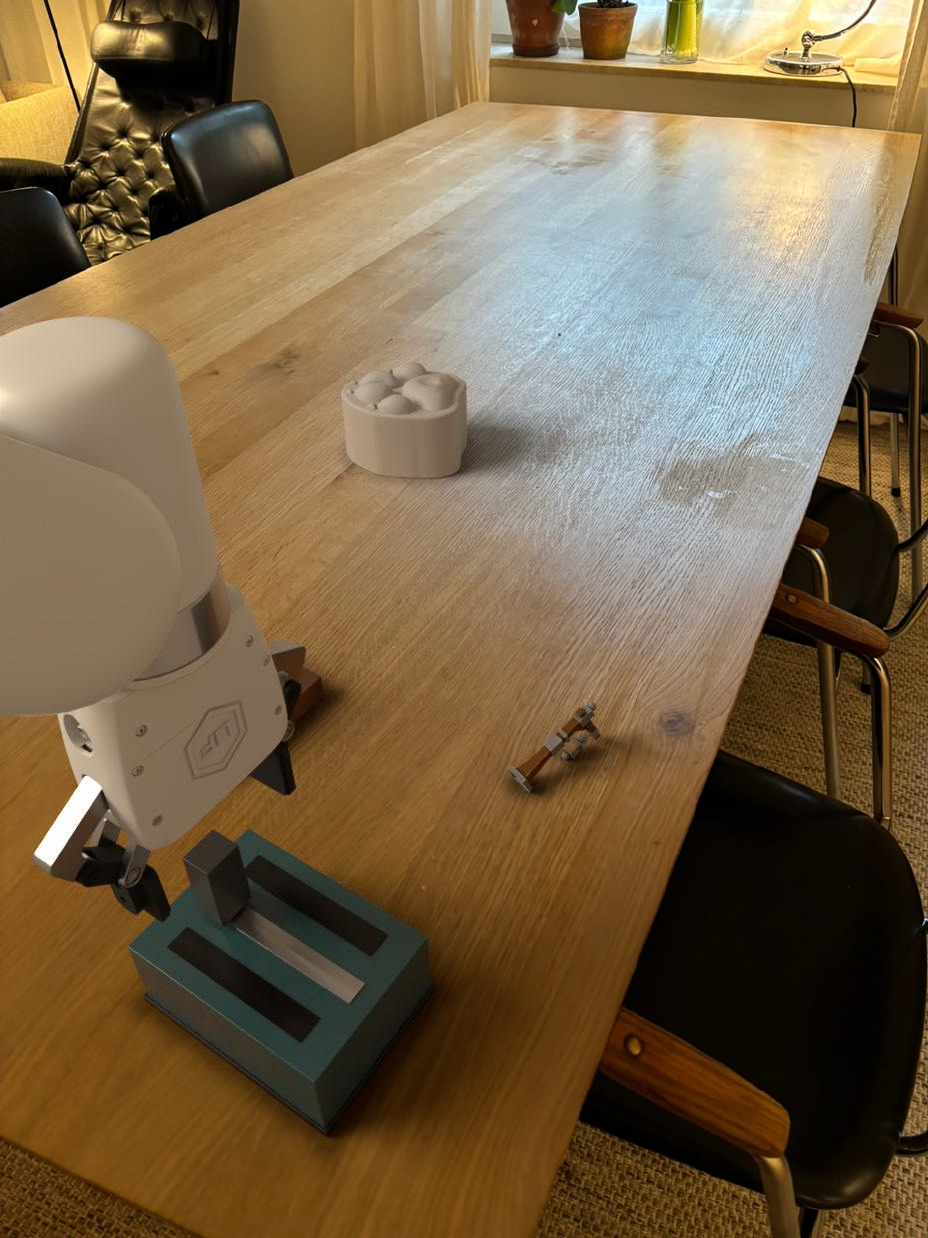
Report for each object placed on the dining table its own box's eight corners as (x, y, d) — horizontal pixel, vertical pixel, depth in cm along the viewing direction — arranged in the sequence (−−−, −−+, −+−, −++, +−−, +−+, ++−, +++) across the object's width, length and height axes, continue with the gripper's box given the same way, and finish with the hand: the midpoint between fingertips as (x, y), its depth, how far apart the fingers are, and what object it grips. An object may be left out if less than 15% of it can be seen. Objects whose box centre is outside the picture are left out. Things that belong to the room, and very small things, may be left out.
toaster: (326, 1138, 54) (314, 1088, 50) (144, 1001, 60) (120, 946, 56) (436, 990, 61) (433, 935, 57) (261, 879, 67) (247, 823, 63)
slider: (223, 927, 57) (207, 875, 54) (198, 911, 58) (181, 858, 54) (252, 897, 58) (238, 844, 55) (227, 881, 59) (212, 828, 56)
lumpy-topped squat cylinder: (455, 481, 104) (454, 407, 98) (335, 472, 106) (327, 398, 100) (471, 431, 112) (470, 360, 106) (358, 423, 113) (352, 353, 108)
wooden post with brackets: (614, 732, 75) (600, 704, 72) (539, 806, 74) (521, 782, 71) (598, 718, 77) (583, 690, 73) (524, 791, 75) (505, 766, 72)
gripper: (33, 772, 37) (141, 1001, 48) (332, 534, 47) (363, 768, 59) (-88, 692, 40) (41, 925, 51) (218, 487, 50) (269, 717, 62)
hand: (213, 841), depth 55 cm, fingers open, 9 cm apart
